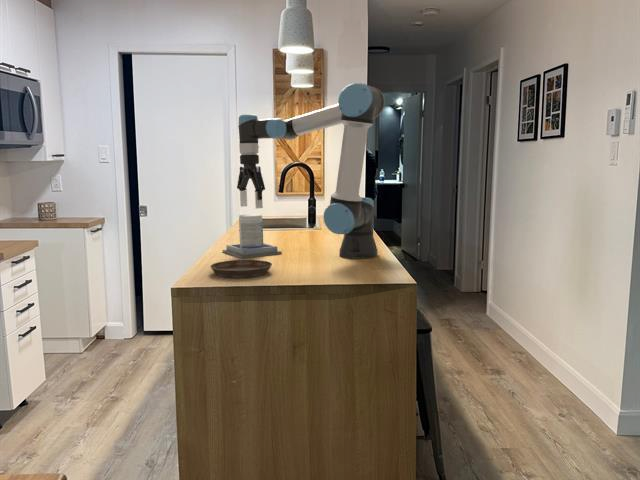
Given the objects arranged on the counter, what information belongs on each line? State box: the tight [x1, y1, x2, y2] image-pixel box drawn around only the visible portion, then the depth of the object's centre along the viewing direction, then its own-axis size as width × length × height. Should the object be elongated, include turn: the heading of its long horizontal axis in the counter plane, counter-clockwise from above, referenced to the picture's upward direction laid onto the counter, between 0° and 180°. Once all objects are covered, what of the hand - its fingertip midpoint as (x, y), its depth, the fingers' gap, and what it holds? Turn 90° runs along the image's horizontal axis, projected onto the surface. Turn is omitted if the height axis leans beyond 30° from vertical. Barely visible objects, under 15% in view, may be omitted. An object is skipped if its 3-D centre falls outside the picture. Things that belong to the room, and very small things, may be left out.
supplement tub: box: [238, 213, 264, 250], centre depth 230 cm, size 10×10×15 cm
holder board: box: [222, 242, 283, 260], centre depth 230 cm, size 18×18×3 cm
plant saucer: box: [210, 259, 273, 279], centre depth 191 cm, size 21×21×3 cm
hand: (251, 207), depth 228 cm, fingers open, 13 cm apart
